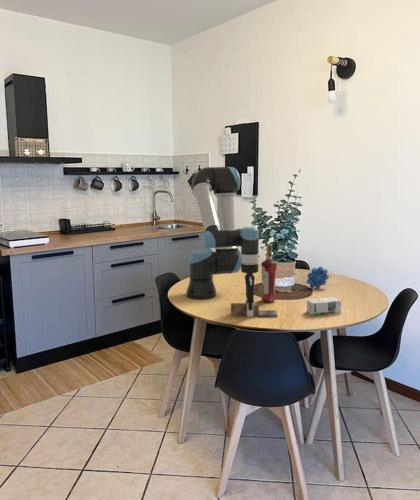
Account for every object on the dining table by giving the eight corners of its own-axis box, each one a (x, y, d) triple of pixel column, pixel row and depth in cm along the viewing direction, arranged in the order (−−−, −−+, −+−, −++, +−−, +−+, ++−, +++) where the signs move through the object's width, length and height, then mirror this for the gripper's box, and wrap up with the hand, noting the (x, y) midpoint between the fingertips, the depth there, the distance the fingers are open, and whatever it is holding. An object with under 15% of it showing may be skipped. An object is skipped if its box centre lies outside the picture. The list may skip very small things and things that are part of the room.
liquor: (258, 299, 218) (258, 244, 213) (271, 298, 220) (272, 242, 215) (265, 304, 211) (266, 246, 206) (278, 302, 214) (279, 245, 209)
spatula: (231, 317, 193) (231, 306, 192) (230, 313, 199) (230, 302, 198) (277, 317, 193) (277, 306, 192) (275, 312, 199) (275, 302, 198)
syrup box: (312, 303, 193) (342, 300, 197) (306, 299, 199) (335, 296, 202) (312, 315, 194) (341, 312, 198) (306, 311, 200) (334, 308, 203)
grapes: (326, 286, 241) (327, 264, 239) (329, 289, 234) (330, 267, 232) (305, 286, 242) (305, 264, 240) (307, 289, 235) (307, 267, 233)
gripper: (260, 266, 183) (260, 321, 187) (256, 259, 200) (256, 309, 204) (242, 267, 184) (242, 321, 187) (239, 259, 200) (240, 309, 204)
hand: (249, 314), depth 196 cm, fingers open, 4 cm apart
